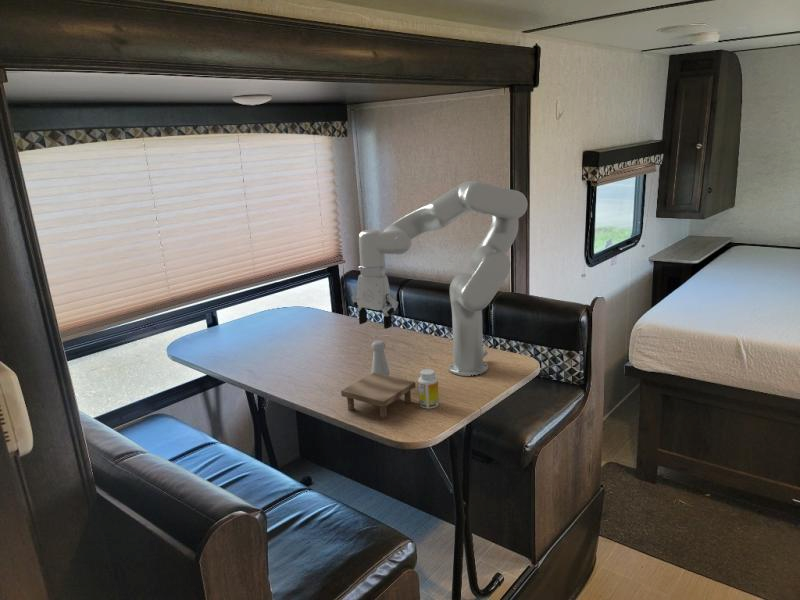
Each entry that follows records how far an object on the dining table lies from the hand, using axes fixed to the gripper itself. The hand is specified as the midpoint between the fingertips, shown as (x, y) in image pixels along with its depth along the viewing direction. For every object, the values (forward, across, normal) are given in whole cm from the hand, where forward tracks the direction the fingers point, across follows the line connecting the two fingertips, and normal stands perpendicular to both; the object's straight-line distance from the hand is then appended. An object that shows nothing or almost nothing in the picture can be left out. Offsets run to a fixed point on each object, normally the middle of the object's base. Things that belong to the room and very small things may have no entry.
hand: (375, 325), depth 177 cm
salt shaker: (+19, +1, +1) cm, 19 cm away
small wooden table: (+18, +12, -14) cm, 26 cm away
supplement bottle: (+18, +24, -7) cm, 31 cm away
